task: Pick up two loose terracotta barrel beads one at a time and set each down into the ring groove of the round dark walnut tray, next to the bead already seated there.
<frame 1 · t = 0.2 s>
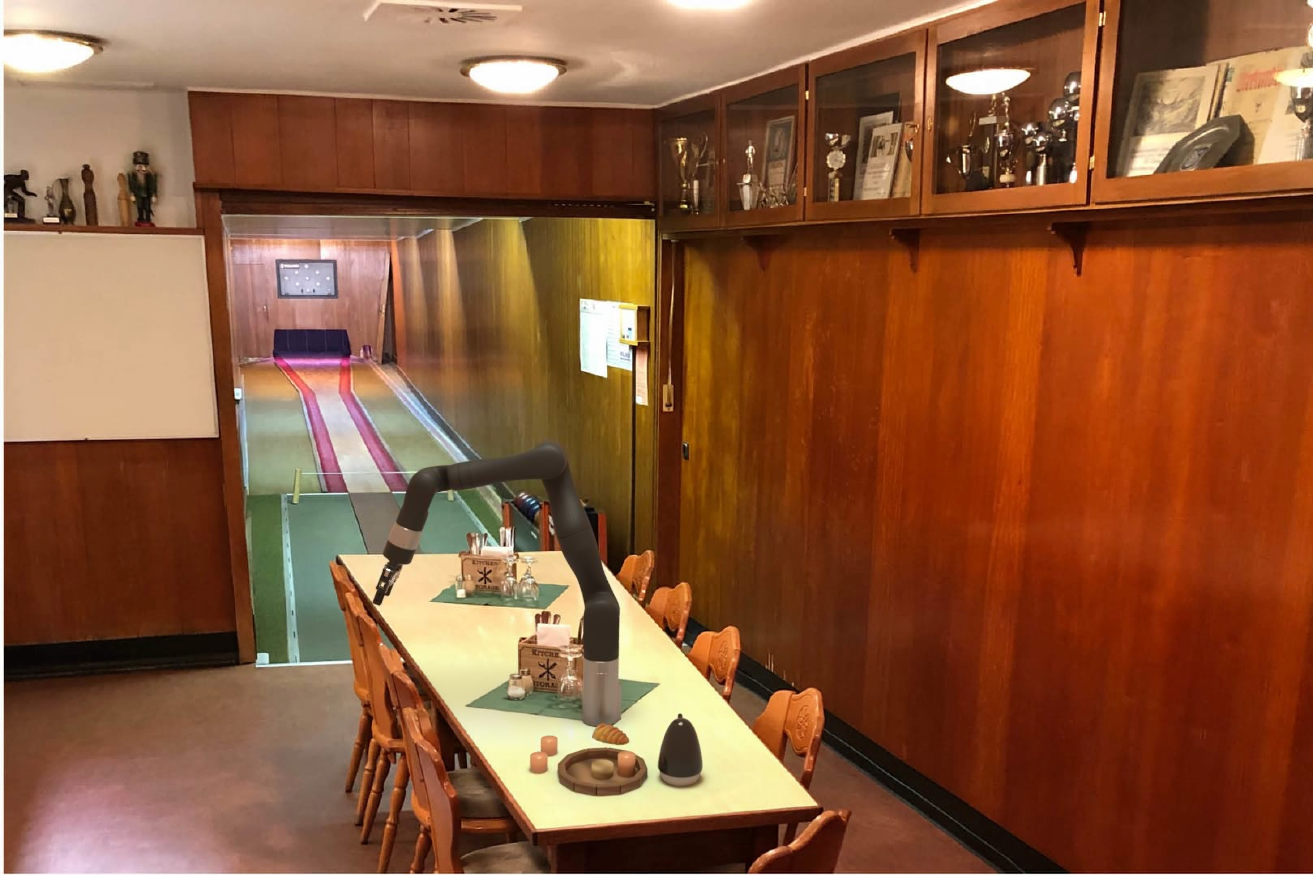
hand: (380, 599, 264), 31 cm above the table, tool tilted 20°, fingers open, 8 cm apart
black tapered dome: (679, 782, 236), on the table
bead c: (626, 773, 237), point 1 cm above the table, touching tray
bead b: (548, 756, 247), on the table
tray: (602, 778, 236), on the table
bead a: (538, 773, 238), on the table
pastry: (610, 742, 257), on the table
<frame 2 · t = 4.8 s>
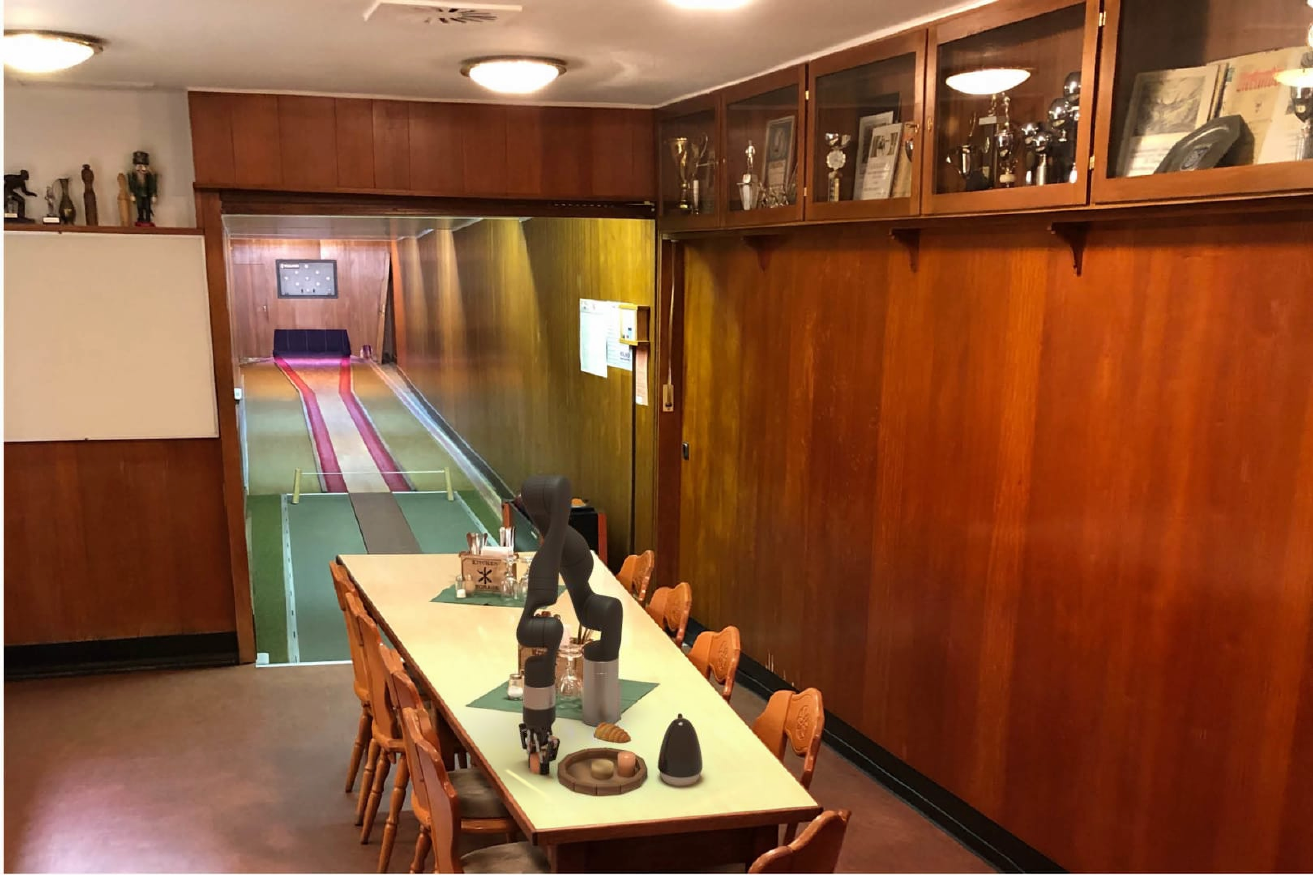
hand: (538, 772, 238), 0 cm above the table, tool pointing down, fingers closed on bead a, 4 cm apart
bead a: (538, 773, 238), on the table, touching gripper
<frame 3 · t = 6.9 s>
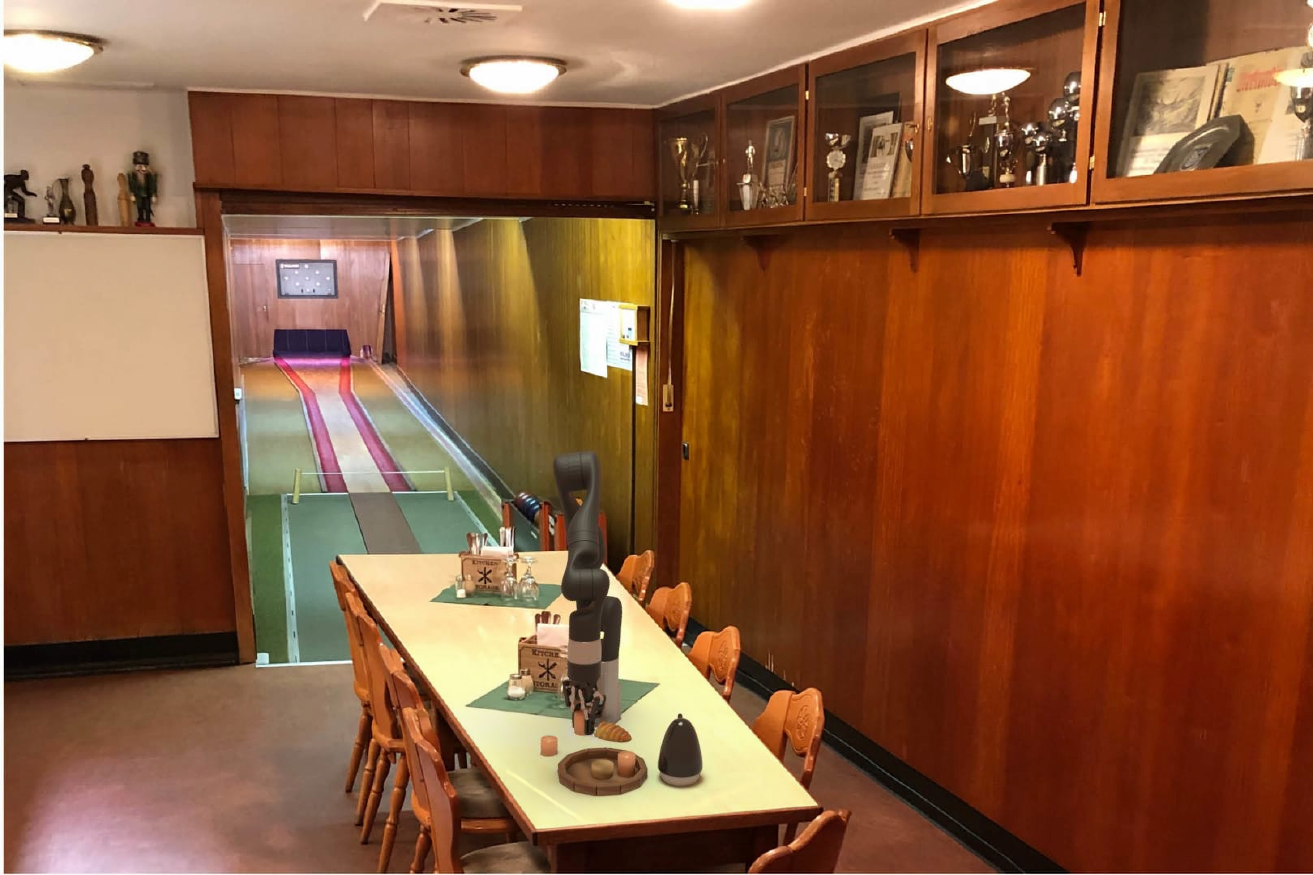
hand: (583, 730, 231), 13 cm above the table, tool pointing down, fingers closed on bead a, 4 cm apart
bead a: (582, 731, 231), point 13 cm above the table, touching gripper
when the fingers open (3 cm above the table, at t = 9.0 s): bead a drops 1 cm, resting on tray.
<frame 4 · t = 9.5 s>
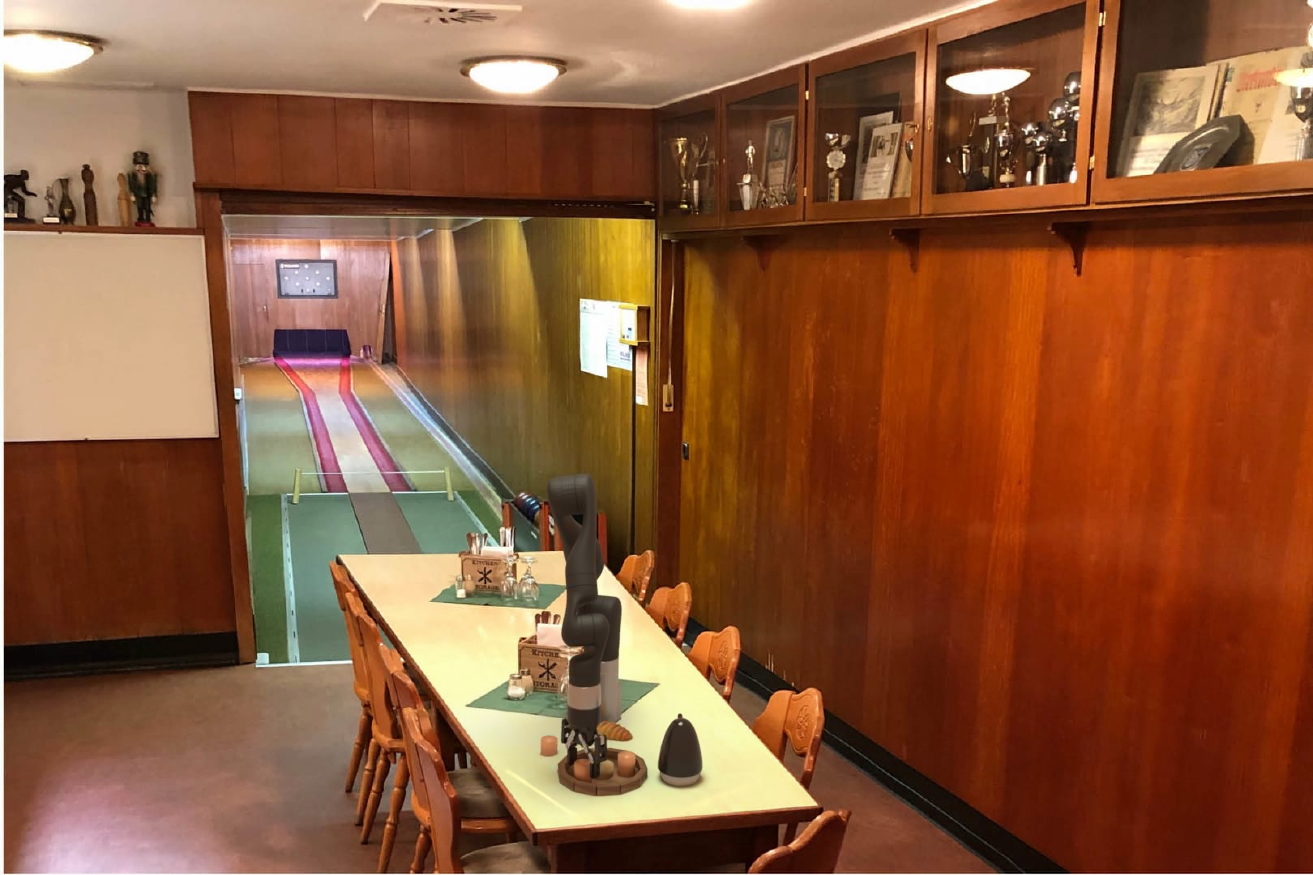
hand: (583, 770, 232), 4 cm above the table, tool pointing down, fingers open, 8 cm apart
bead a: (583, 781, 232), point 1 cm above the table, touching tray
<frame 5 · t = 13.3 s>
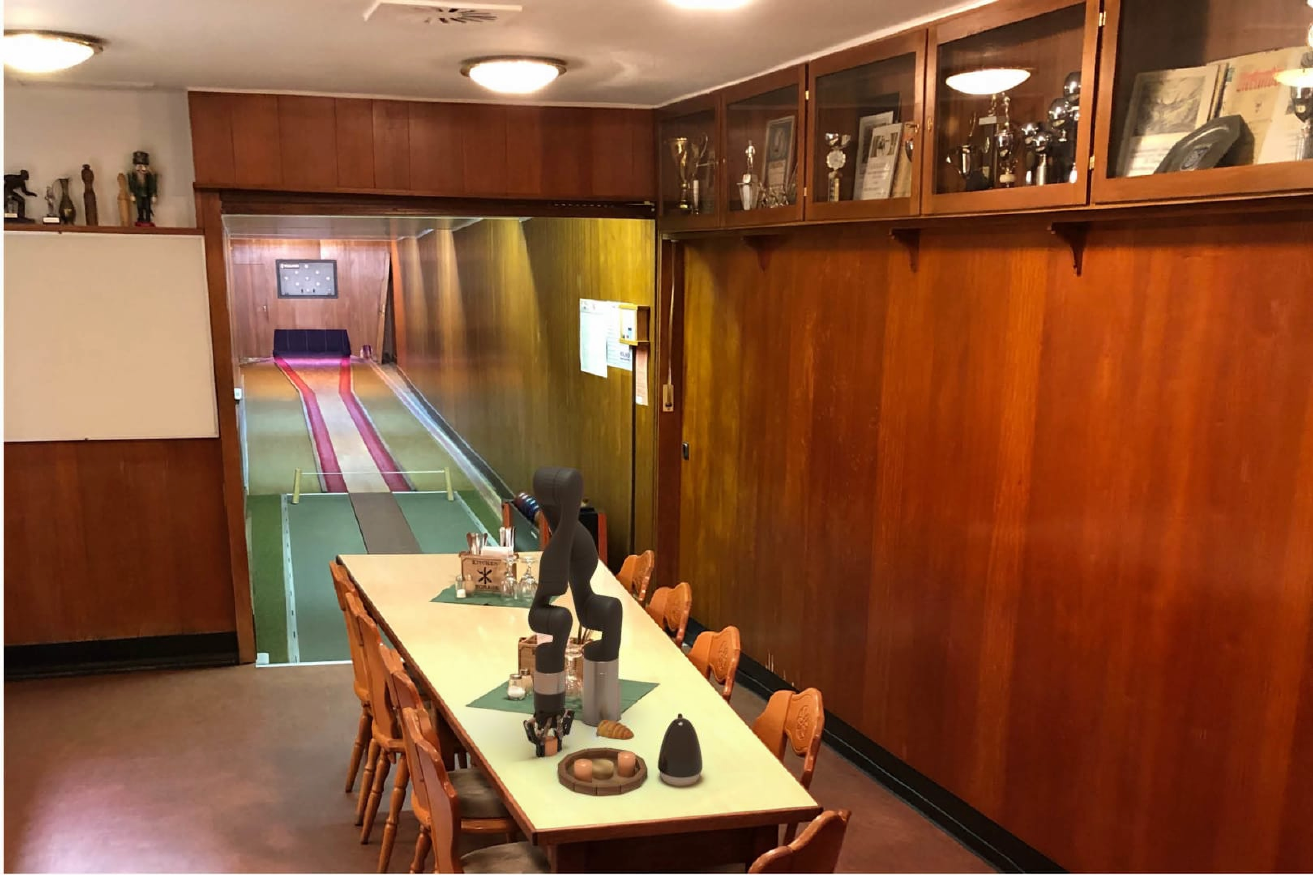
hand: (549, 755, 247), 0 cm above the table, tool pointing down, fingers closed on bead b, 4 cm apart
bead b: (548, 756, 247), on the table, touching gripper
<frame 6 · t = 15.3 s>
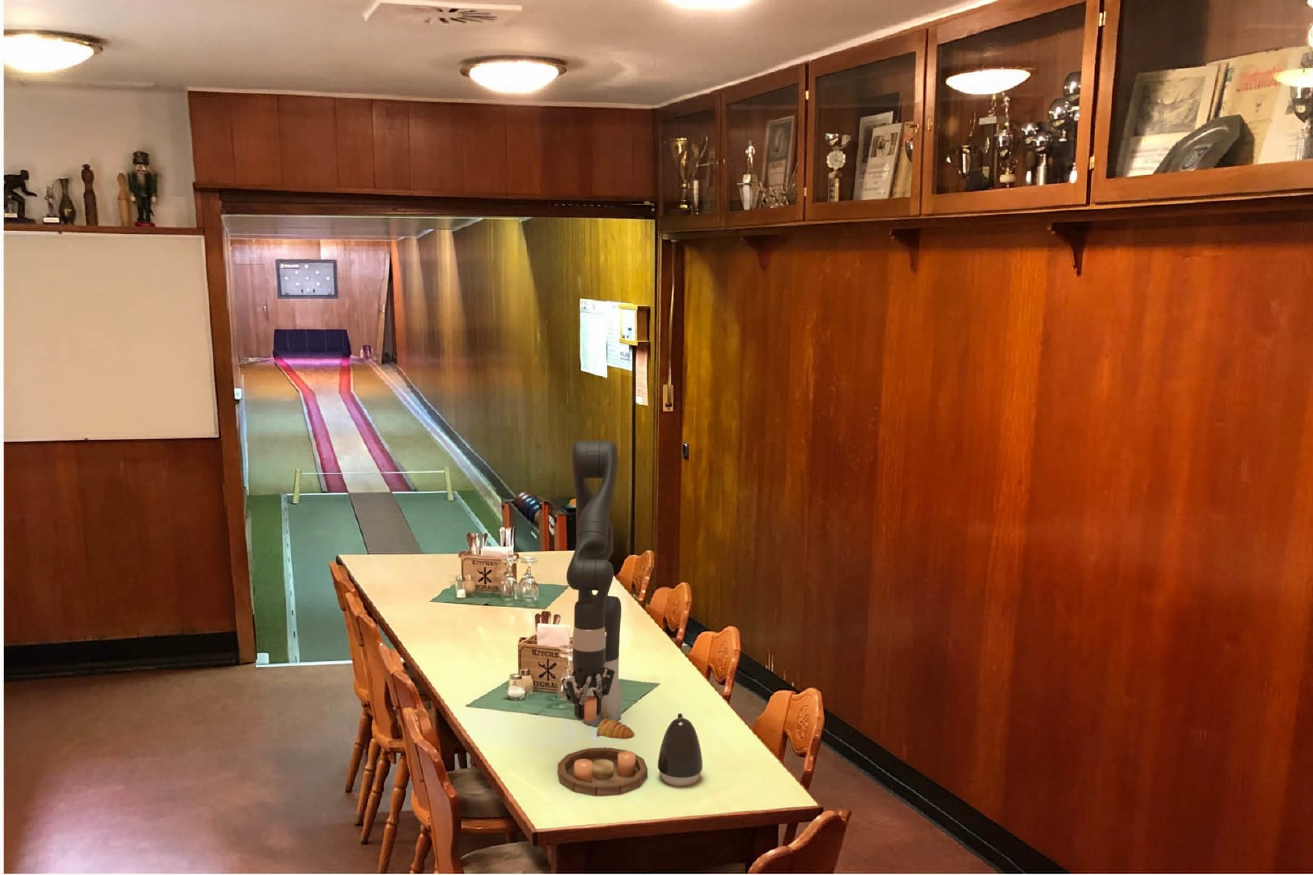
hand: (587, 716, 238), 13 cm above the table, tool pointing down, fingers closed on bead b, 4 cm apart
bead b: (587, 717, 239), point 13 cm above the table, touching gripper
when the fingers open (3 cm above the table, at t = 17.5 s): bead b drops 1 cm, resting on tray.
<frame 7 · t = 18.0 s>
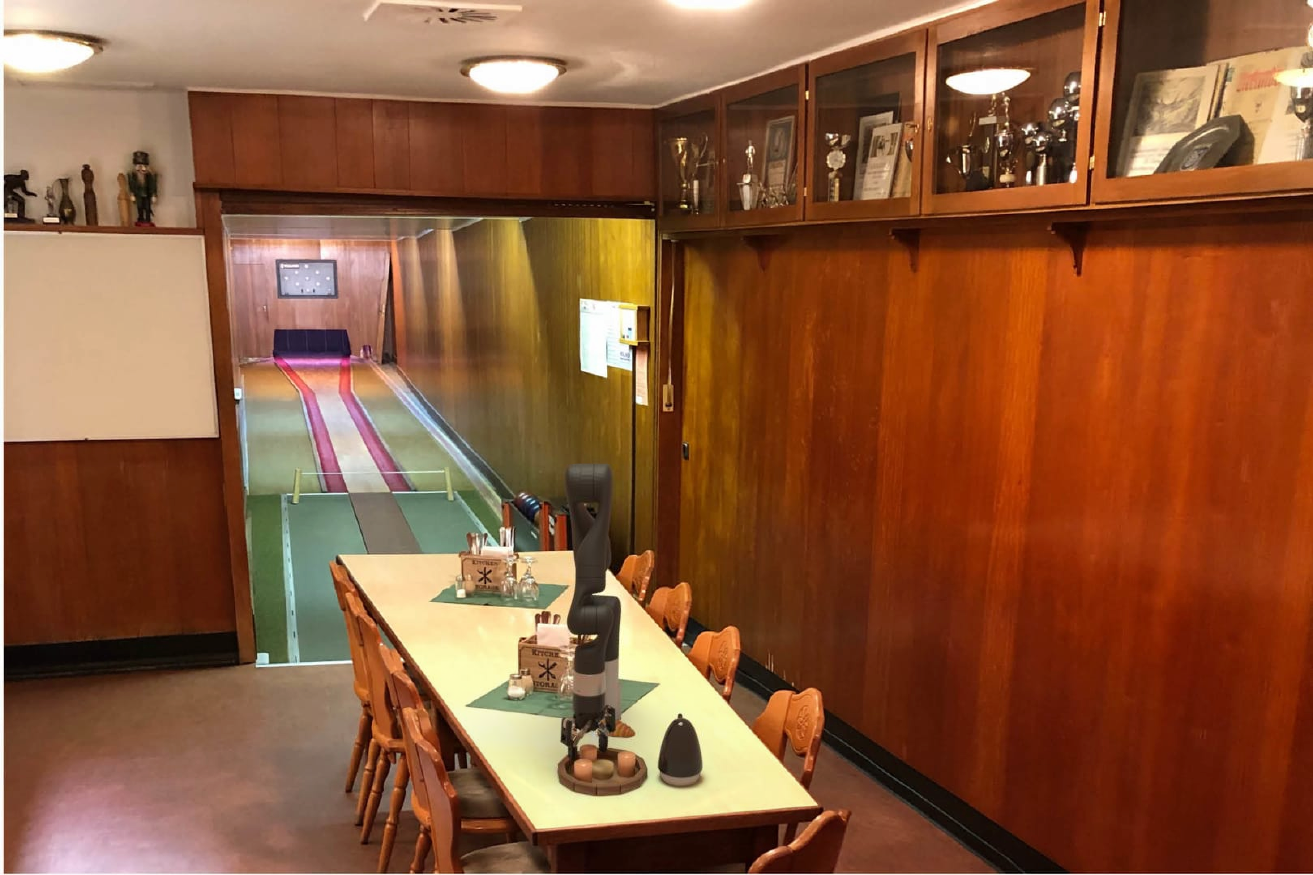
hand: (588, 755, 240), 4 cm above the table, tool pointing down, fingers open, 8 cm apart
bead b: (588, 766, 240), point 1 cm above the table, touching tray
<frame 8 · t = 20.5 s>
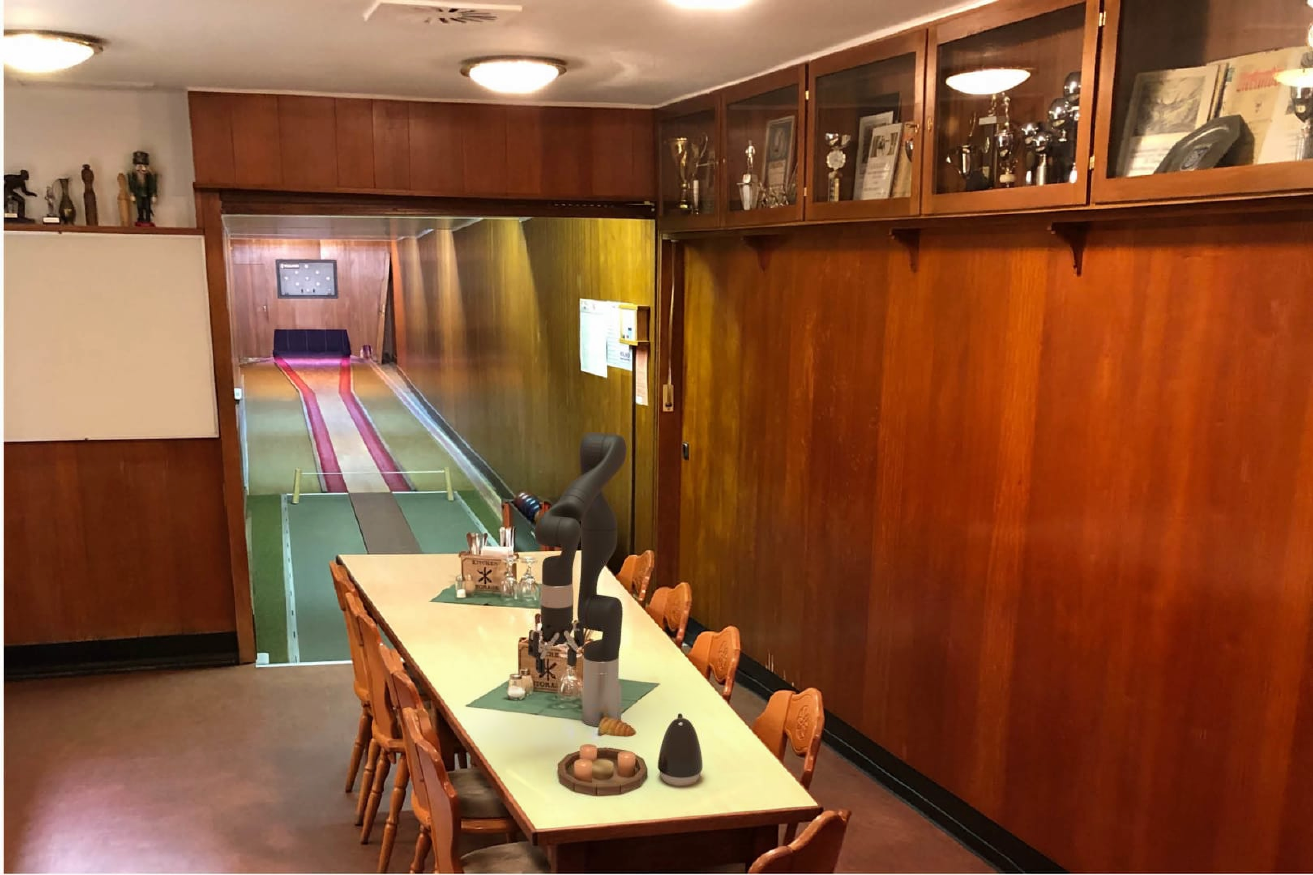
hand: (556, 669, 240), 23 cm above the table, tool pointing down, fingers open, 8 cm apart
at the end: bead a inside the target area on the tray (5.6 cm from its centre), point 1.0 cm above the tray's base; bead b inside the target area on the tray (5.5 cm from its centre), point 1.0 cm above the tray's base; the gripper is holding nothing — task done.
